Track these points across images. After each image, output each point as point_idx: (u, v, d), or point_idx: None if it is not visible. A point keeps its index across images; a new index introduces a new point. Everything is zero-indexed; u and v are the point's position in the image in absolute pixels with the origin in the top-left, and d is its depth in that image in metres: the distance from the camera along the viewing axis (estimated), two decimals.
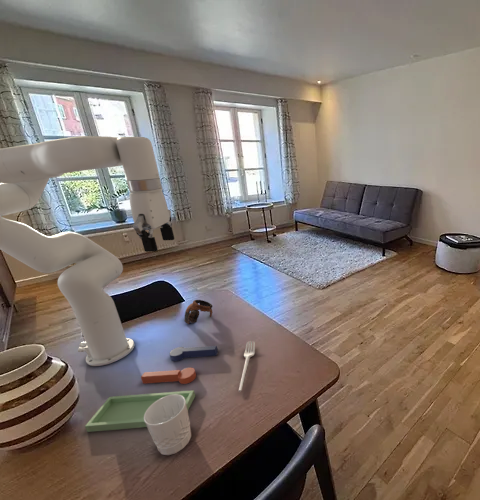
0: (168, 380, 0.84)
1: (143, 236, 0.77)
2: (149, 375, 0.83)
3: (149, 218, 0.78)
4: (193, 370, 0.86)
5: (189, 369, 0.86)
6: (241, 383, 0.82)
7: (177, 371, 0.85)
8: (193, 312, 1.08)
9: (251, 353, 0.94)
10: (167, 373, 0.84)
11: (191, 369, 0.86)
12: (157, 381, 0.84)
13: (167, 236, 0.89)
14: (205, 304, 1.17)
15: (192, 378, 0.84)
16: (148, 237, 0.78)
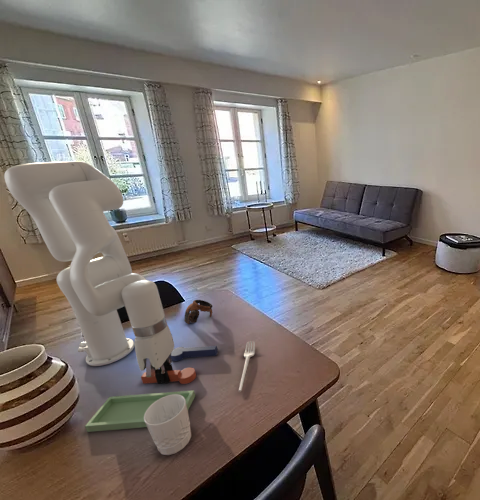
0: None
1: (156, 373, 0.81)
2: None
3: (154, 361, 0.77)
4: (193, 370, 0.86)
5: (189, 369, 0.86)
6: (241, 383, 0.82)
7: (177, 371, 0.85)
8: (193, 312, 1.08)
9: (251, 353, 0.94)
10: None
11: (191, 369, 0.86)
12: None
13: None
14: (205, 304, 1.17)
15: (192, 378, 0.84)
16: (161, 373, 0.81)
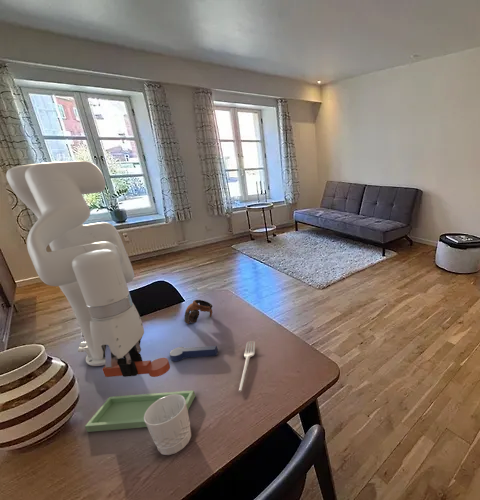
0: None
1: (120, 364, 0.67)
2: (112, 367, 0.70)
3: (115, 348, 0.63)
4: (166, 361, 0.72)
5: (161, 359, 0.72)
6: (241, 383, 0.82)
7: (147, 362, 0.71)
8: (193, 312, 1.08)
9: (251, 353, 0.94)
10: None
11: (164, 359, 0.72)
12: None
13: None
14: (205, 304, 1.17)
15: (164, 370, 0.71)
16: (126, 364, 0.68)
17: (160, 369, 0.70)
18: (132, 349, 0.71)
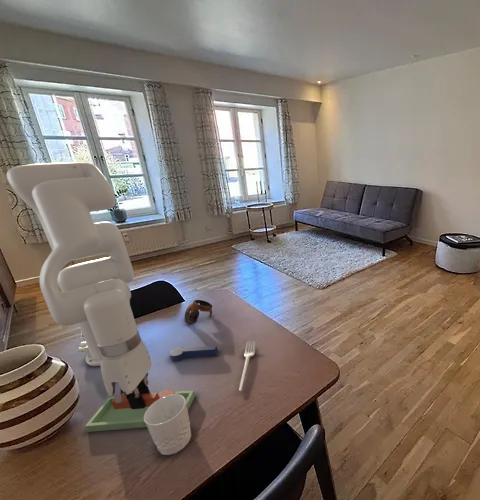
0: None
1: (129, 398, 0.69)
2: None
3: (124, 385, 0.65)
4: (173, 393, 0.74)
5: (168, 391, 0.75)
6: (241, 383, 0.82)
7: (154, 394, 0.73)
8: (193, 312, 1.08)
9: (251, 353, 0.94)
10: None
11: (171, 391, 0.75)
12: None
13: None
14: (205, 304, 1.17)
15: None
16: (134, 398, 0.70)
17: None
18: (140, 382, 0.73)
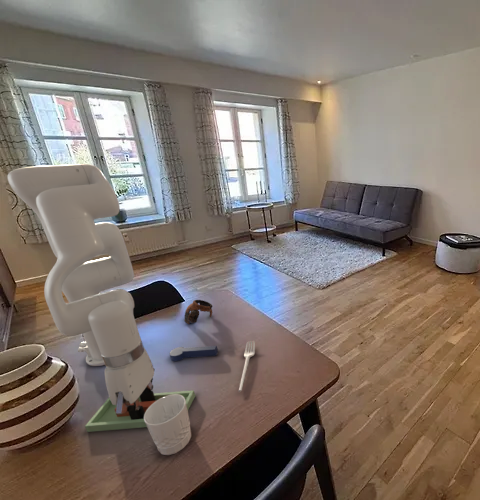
0: None
1: (129, 410, 0.69)
2: None
3: (128, 395, 0.67)
4: None
5: None
6: (241, 383, 0.82)
7: None
8: (193, 312, 1.08)
9: (251, 353, 0.94)
10: (145, 405, 0.73)
11: None
12: None
13: None
14: (205, 304, 1.17)
15: None
16: (135, 410, 0.70)
17: None
18: (145, 387, 0.75)
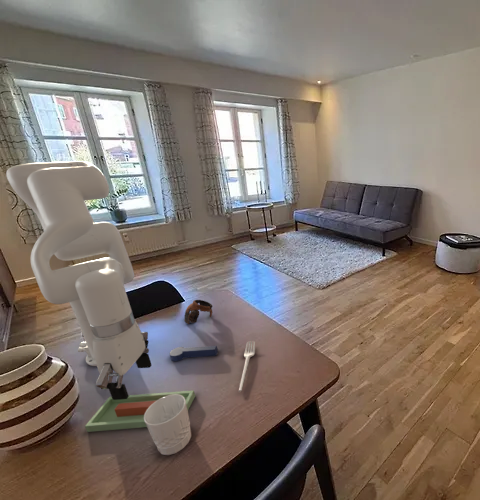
0: None
1: None
2: (124, 407, 0.73)
3: (117, 366, 0.64)
4: None
5: None
6: (241, 383, 0.82)
7: None
8: (193, 312, 1.08)
9: (251, 353, 0.94)
10: (145, 405, 0.73)
11: None
12: (133, 414, 0.73)
13: (143, 364, 0.76)
14: (205, 304, 1.17)
15: None
16: (116, 388, 0.65)
17: None
18: None
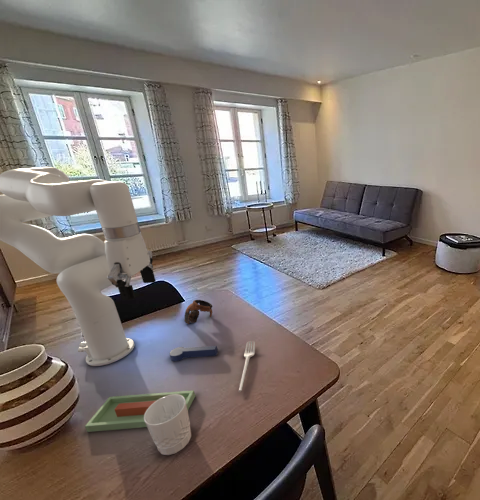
0: None
1: (119, 285, 0.73)
2: (124, 407, 0.73)
3: (126, 266, 0.73)
4: None
5: None
6: (241, 383, 0.82)
7: None
8: (193, 312, 1.08)
9: (251, 353, 0.94)
10: (145, 405, 0.73)
11: None
12: (133, 414, 0.73)
13: (148, 279, 0.85)
14: (205, 304, 1.17)
15: None
16: (125, 286, 0.74)
17: None
18: (146, 265, 0.84)
